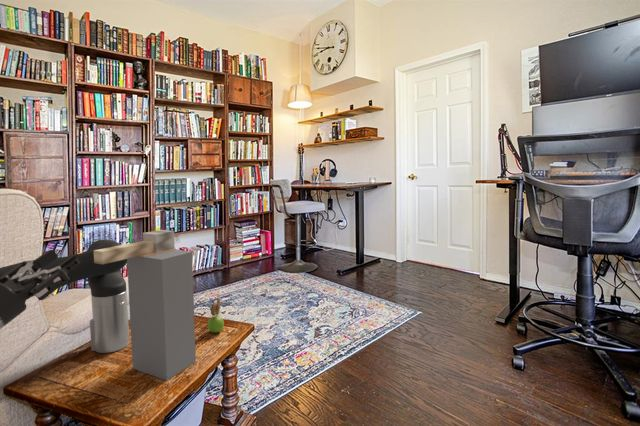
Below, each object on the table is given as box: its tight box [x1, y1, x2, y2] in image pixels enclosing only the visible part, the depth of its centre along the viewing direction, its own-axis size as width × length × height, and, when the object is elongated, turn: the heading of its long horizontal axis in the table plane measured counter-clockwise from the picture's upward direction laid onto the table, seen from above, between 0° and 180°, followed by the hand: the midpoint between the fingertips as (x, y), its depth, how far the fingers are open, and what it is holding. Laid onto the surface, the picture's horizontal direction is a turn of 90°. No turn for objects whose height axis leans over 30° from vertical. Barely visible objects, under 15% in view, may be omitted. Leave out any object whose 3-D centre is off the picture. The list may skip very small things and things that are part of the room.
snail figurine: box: [206, 293, 225, 334], centre depth 117 cm, size 5×6×12 cm
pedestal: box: [126, 248, 197, 381], centre depth 95 cm, size 10×13×32 cm
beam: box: [93, 229, 176, 264], centre depth 89 cm, size 20×5×5 cm, turn 155°
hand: (66, 255), depth 74 cm, fingers open, 8 cm apart
